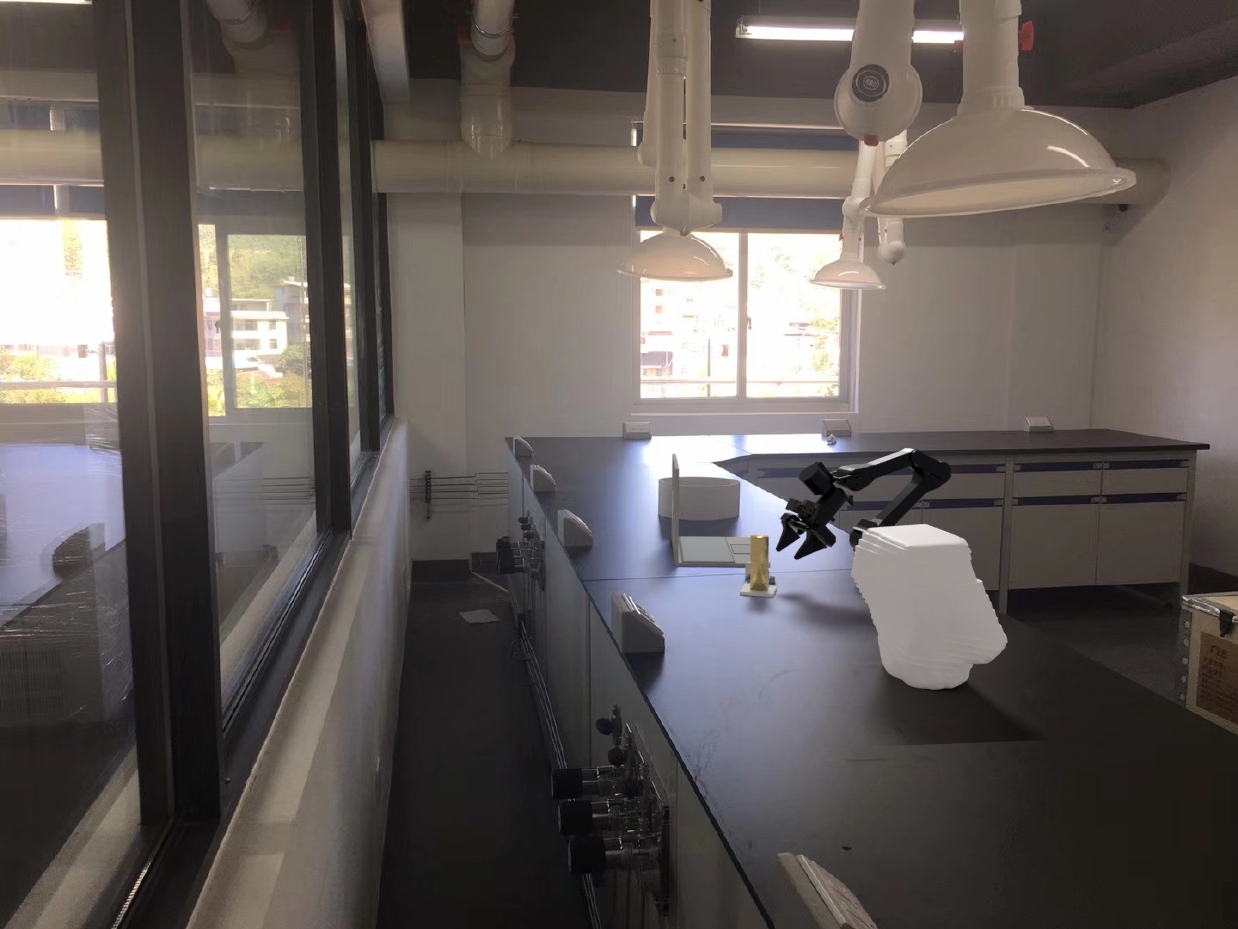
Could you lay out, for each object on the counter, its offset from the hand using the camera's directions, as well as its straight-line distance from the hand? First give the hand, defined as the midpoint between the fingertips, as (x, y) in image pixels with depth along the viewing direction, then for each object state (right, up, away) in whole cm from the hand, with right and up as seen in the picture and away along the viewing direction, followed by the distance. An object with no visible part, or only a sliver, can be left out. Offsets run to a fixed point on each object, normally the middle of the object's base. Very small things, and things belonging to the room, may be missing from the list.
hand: (785, 554), depth 228 cm
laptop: (-12, -4, +42) cm, 44 cm away
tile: (-7, -9, -1) cm, 11 cm away
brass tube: (-7, -8, -1) cm, 11 cm away
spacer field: (-6, -8, +8) cm, 12 cm away
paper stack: (+13, -17, -58) cm, 62 cm away
